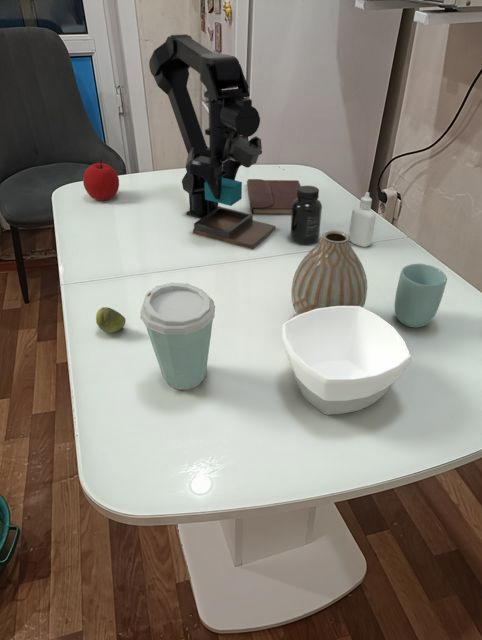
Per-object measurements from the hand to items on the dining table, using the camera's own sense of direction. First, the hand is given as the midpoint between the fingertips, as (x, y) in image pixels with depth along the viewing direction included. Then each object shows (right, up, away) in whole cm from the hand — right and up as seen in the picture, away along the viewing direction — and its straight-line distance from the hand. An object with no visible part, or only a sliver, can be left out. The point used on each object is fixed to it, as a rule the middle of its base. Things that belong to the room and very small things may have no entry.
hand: (223, 195), depth 118 cm
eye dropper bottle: (+32, -11, +2) cm, 34 cm away
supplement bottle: (+19, -10, +3) cm, 22 cm away
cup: (+37, -31, -23) cm, 53 cm away
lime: (-17, -33, -28) cm, 47 cm away
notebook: (+13, +5, +21) cm, 25 cm away
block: (0, -1, +1) cm, 1 cm away
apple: (-33, +5, +18) cm, 38 cm away
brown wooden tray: (+2, -7, +4) cm, 9 cm away
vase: (+21, -31, -24) cm, 45 cm away
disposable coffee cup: (-3, -41, -37) cm, 55 cm away
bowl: (+21, -42, -38) cm, 60 cm away
